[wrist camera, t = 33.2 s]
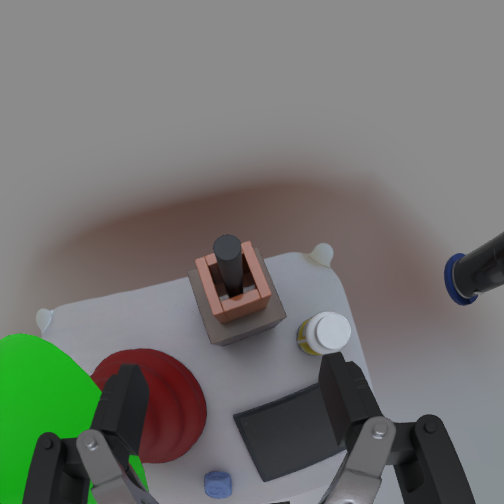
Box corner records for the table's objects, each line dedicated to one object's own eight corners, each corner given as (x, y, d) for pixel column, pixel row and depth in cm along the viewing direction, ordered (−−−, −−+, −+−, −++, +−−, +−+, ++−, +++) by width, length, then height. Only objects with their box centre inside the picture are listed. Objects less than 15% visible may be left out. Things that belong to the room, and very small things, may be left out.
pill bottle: (336, 347, 42) (362, 345, 32) (301, 359, 41) (319, 362, 31) (325, 313, 44) (348, 301, 34) (291, 324, 44) (304, 316, 33)
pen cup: (249, 265, 32) (250, 240, 25) (266, 307, 31) (272, 294, 24) (205, 280, 32) (194, 259, 25) (220, 324, 30) (213, 316, 23)
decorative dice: (232, 488, 33) (231, 498, 29) (209, 488, 33) (206, 498, 29) (230, 471, 34) (228, 480, 30) (206, 471, 34) (203, 480, 30)
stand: (254, 277, 46) (258, 246, 33) (274, 327, 43) (286, 316, 30) (204, 295, 45) (186, 271, 32) (222, 346, 42) (211, 344, 29)
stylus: (240, 283, 31) (235, 230, 18) (245, 297, 30) (245, 254, 17) (225, 288, 31) (209, 239, 18) (230, 303, 30) (218, 264, 17)
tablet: (335, 373, 41) (337, 374, 40) (360, 439, 36) (362, 440, 35) (233, 414, 38) (232, 416, 37) (263, 480, 34) (264, 482, 33)
